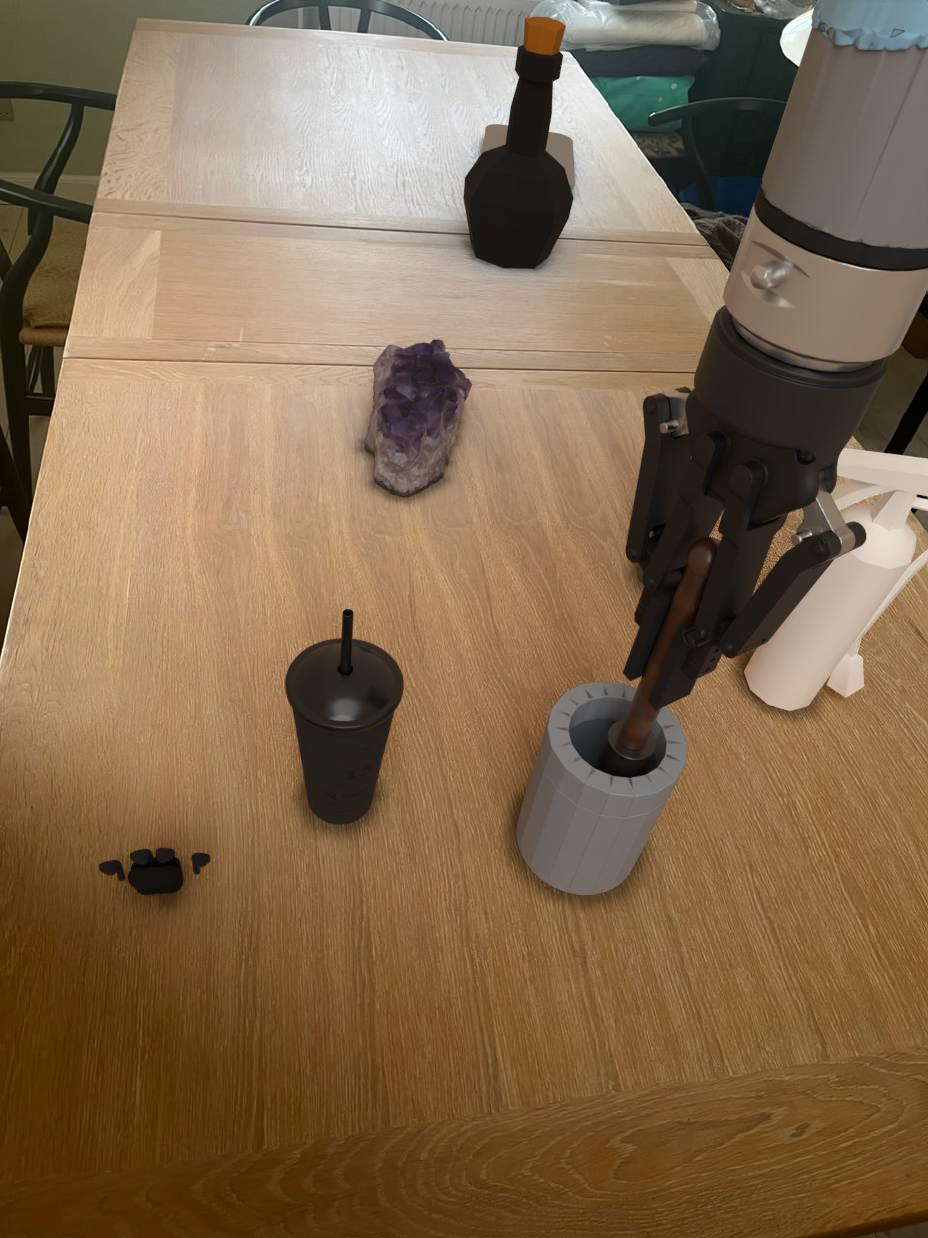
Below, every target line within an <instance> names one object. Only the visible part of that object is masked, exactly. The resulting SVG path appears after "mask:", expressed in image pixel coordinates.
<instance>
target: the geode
mask: <svg viewBox="0 0 928 1238" xmlns="http://www.w3.org/2000/svg"><path fill="white" fill-rule="evenodd" d="M446 349H447V348H446V344H445V342H444V341H443V340H442V339H439V338H438V339H432V340H431V341H430V342H426V341H425V342H424V341H423V342H417V343H415V344H412V345H410V346H407V347H404V348H403V347H401V346H398V345H396V344H388V345H387V346H386V348H384V349H383V351H381V353H380V355H379V356H378V357H377V358H376V361H374V362H373V367H372V372H373V385H372V391H373V396H372V399H373V405H372V410H371V413H370V415H369V416H370V417H369V425H368V429H367V434H366V437H365V439H364V449H365V450H366V451H368V452H369V453H370V454H372V455H373V457H374V463H373V478H374V483H375V484H376V485H378V486H379V487H381V488H382V489H384V490H385V491H386V492H388V493H390V494H391V495H395V496H396V495H397V496H399V497H401V498H408V497H410V496H414V495H417V494H418V493H421V491H424V490H426V489H428V488H429V487H431V485H433V484H436V483H437V482H438V481H440V480H441V479H442V478H443V477H444V475H445V472H446V468H447V466H448V464H449V462H450V455H451V450H452V447H453V445H454V444H456V439H457V431H458V428H459V422H460V421H461V420H462V418H463V414H464V408H465V402H466V401H467V399H468V398H469V393H470V391H471V389H472V386H473V383H472V381H471V380H470V378H467V376H466V375H465V373H464V372H463V371H462V370H461V369H460V368H459V367H456V366H455V364H454V363H453V361H452V359H451V358H450V356H451V354H450V352H449V351H446Z"/></svg>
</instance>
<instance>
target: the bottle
mask: <svg viewBox="0 0 928 1238" xmlns="http://www.w3.org/2000/svg"><path fill="white" fill-rule="evenodd" d="M523 25H524V26H523V44H522V45H519V46H517V52H516V57H515V63H514V64H515V65H514V71H515V74H516V75H517V77H518V80H517V83H516V87H515V91H514V94H513V97H512V101H511V104H510V109H509V116H508V123H507V125H508V129H507V136H506V143H505V145H502V146H499V147H497V148H494V149H491V150H488V151H485V152H482V151H481V154H480V155H479V156H478V158H477V159H476V161H475V162H474V164H473V165H472V167H471V168H470V170H469V171H468V172H467V174H466V175H465V177H464V184H463V195H462V196H463V204H464V211H465V216H466V222H467V228H468V234H469V241H470V244H471V247H472V250H473V252H474V254H475V257H476V258H479V259H481V260H483V261H485V262H488V263H491V264H493V265H495V266H497V267H500V268H502V269H535V268H536V267H538V266H539V265H541V264H542V263H543V262H545V261H546V260H548V259H549V257H550V255H551V253H552V251H553V249H554V247H555V245H556V243H557V241H558V240H559V238H560V237H561V234H562V232H563V230H564V229H565V226H566V224H567V223H568V222H569V219H570V215H571V212H572V208H573V204H574V203H573V202H574V200H575V199H574V195H573V191H572V189H571V188H570V185H569V181H568V178H567V175H566V171H565V168H564V167H563V166H562V165H561V164H560V163H559V162H558V161H557V160H556V159H555V158H554V157H553V156H551V155H550V154H549V153H548V152H547V151H546V145H547V139H548V134H549V132H550V128H551V123H552V115H553V97H554V94H553V93H554V82H555V81H557V80H559V79H560V77H561V71H562V66H563V60H564V54H563V53H562V52H561V51H560V49H561V45H562V42H563V38H564V34H565V31H566V28H567V26H566V25H565V23H563V21H560V20H557V19H555V18H552V17H549V16H529V17H525V18H524V24H523Z"/></svg>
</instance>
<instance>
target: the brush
mask: <svg viewBox="0 0 928 1238" xmlns="http://www.w3.org/2000/svg"><path fill="white" fill-rule="evenodd" d="M720 541H721V539H719V538H716V537H713V536H709V537H704V538H701V539H698V540H697V541H695V542H694V543H693V544H692V545H691V546H690V548H689V550H688V552H687V565H686V567H685V570H684V572H683V575H682V577H681V580H680V582H679V585H678V587H677V590H676V592H675V595H674V597H673V600H672V602H671V605H670V607H669V610H668V612H667V615H666V617H665V620H664V622H663V625H662V627H661V630H660V632H659V635H658V637H657V640H656V642H655V645H654V647H653V650H652V652H651V655H650V657H649V660H648V662H647V665H646V667H645V670H644V672H643V675H642V676H641V677H640V679H639V683H638V685H637V687H636V688H637V690H636V692H635V695H634V697H633V700H632V702H631V705H630V707H629V710H628V712H627V715H626V717H625V720H622V721H619V722H616V723H615V724H613V725H612V726H611V727H610V729H609V731H608V733H607V736H606V738H605V741H604V743H603V746H602V749H601V751H600V754H599V756H598V759H597V762H596V764H595V767H594V768H595V769H597V770H600V771H602V772H604V773H607V774H609V775H611V776H617V777H625V778H632V777H637V776H642V775H644V773H645V771H646V768H647V766H648V764H649V762H650V760H651V757H652V755H653V753H654V751H655V748H656V742H655V738H654V736H653V734H652V732H651V730H652V728H653V726H654V723H655V721H656V719H657V716H658V714H659V712H660V710H661V708H660V709H658V710H655V709H654V708H653V707H652V705H651V704H650V703H649V702H648V700H649V698H650V695H651V693H652V691H653V688H654V686H655V683H656V681H657V679H658V676H659V674H660V671H661V669H662V667H663V664H664V662H665V659H666V657H667V655H668V652H669V650H670V647H671V645H672V643H673V640H674V638H675V635H676V633H677V631H678V628H679V627H680V626H682V625H684V624H687V623H689V622H692V621H695V619H696V616H697V613H698V610H699V607H700V603H701V600H702V597H703V594H704V591H705V588H706V585H707V582H708V578H709V575H710V572H711V569H712V566H713V563H714V560H715V557H716V554H717V550H718V547H719V544H720Z"/></svg>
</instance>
